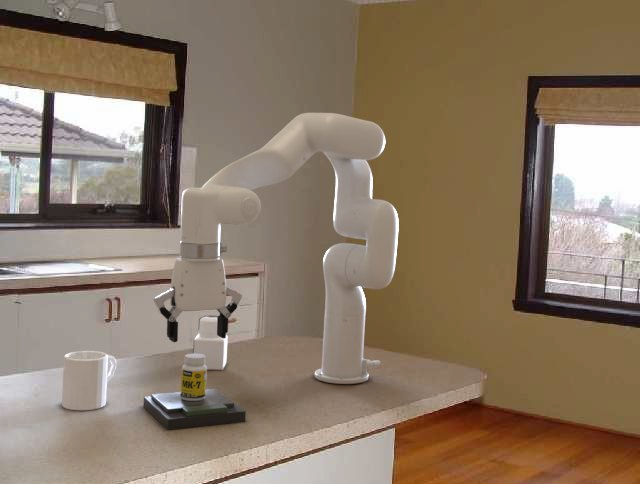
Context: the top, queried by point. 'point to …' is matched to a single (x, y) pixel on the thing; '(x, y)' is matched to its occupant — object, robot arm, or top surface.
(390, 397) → the top surface
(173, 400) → the scale pan
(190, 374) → the supplement bottle
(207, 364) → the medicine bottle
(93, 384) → the mug
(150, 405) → the scale
